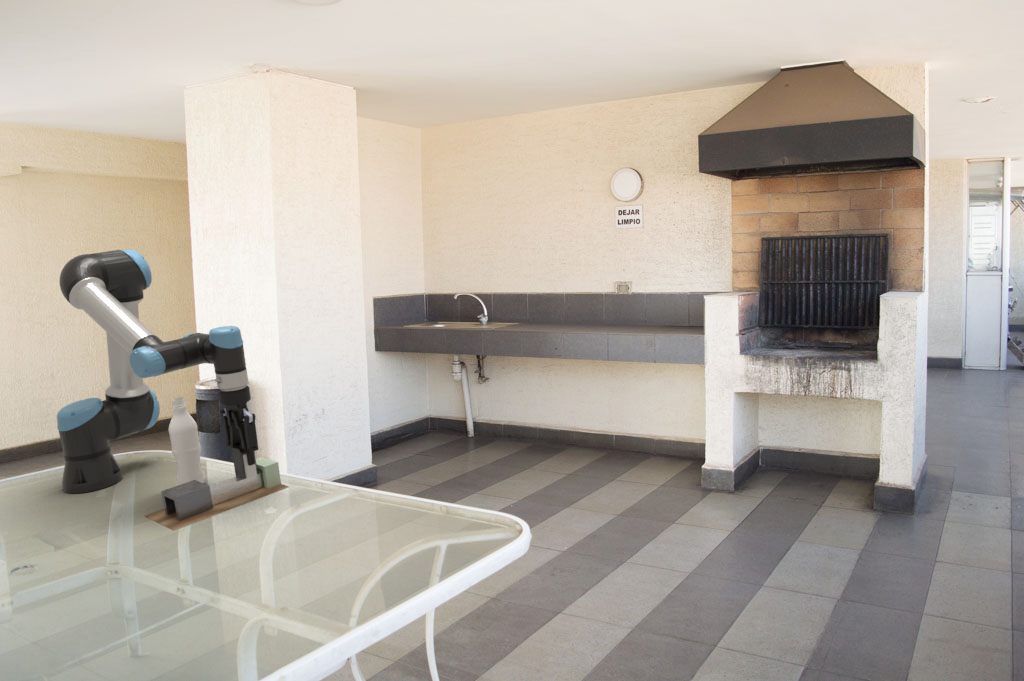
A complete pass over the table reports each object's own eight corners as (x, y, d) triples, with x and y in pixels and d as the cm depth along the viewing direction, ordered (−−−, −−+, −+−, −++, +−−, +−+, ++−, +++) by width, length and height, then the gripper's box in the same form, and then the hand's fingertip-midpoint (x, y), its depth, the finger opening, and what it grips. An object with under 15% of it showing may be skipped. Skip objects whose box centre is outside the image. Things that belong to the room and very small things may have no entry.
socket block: (251, 483, 214) (248, 461, 212) (264, 478, 216) (261, 457, 215) (267, 488, 208) (264, 466, 207) (281, 483, 211) (278, 462, 210)
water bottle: (198, 481, 221) (183, 393, 216) (212, 486, 217) (197, 396, 212) (173, 490, 216) (158, 400, 211) (187, 495, 211) (172, 403, 207)
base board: (144, 519, 197) (143, 515, 197) (257, 478, 219) (256, 475, 219) (174, 534, 186) (173, 530, 186) (290, 490, 209) (289, 486, 208)
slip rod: (192, 507, 200) (184, 461, 197) (267, 479, 215) (260, 437, 212) (199, 510, 197) (192, 464, 195) (275, 482, 212) (268, 439, 210)
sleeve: (165, 514, 197) (161, 491, 195) (198, 502, 203) (194, 479, 202) (179, 521, 191) (175, 497, 190) (213, 508, 198) (209, 485, 196)
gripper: (203, 387, 206) (216, 473, 211) (237, 394, 195) (251, 485, 200) (229, 380, 212) (242, 464, 216) (264, 387, 200) (277, 476, 205)
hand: (246, 474), depth 208 cm, fingers closed on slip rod, 4 cm apart
